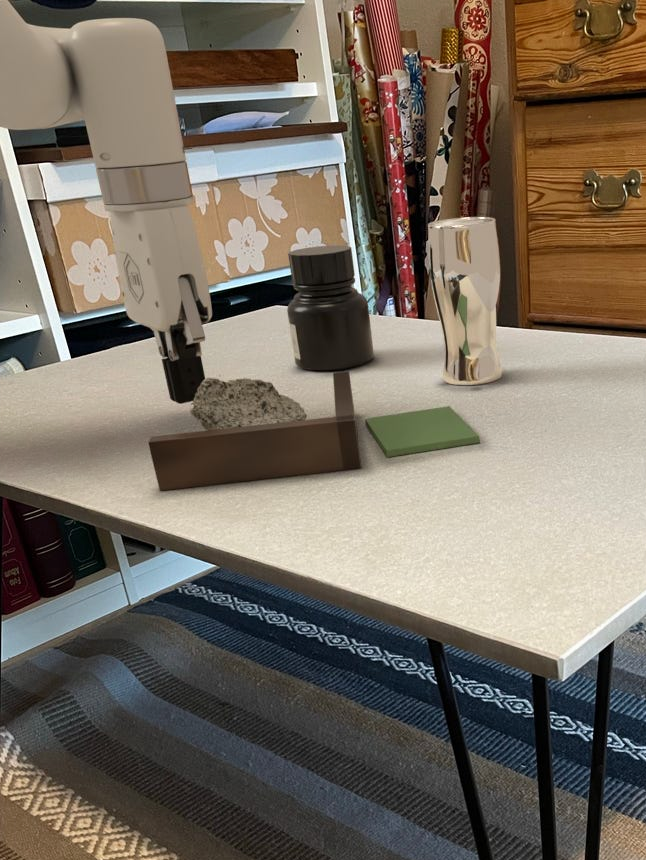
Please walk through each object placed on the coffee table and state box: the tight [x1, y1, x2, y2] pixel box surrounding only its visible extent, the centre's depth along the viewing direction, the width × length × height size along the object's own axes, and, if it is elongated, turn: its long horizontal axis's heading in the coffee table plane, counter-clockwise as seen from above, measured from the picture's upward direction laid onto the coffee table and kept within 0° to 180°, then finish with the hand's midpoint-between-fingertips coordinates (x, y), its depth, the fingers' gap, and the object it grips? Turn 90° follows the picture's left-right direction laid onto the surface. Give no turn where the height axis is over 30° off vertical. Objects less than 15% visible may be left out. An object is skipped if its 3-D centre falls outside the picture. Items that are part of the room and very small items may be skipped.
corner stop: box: [147, 370, 362, 492], centre depth 84 cm, size 16×16×4 cm
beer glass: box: [427, 216, 503, 386], centre depth 98 cm, size 7×7×15 cm
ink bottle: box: [286, 244, 375, 371], centre depth 108 cm, size 10×9×12 cm
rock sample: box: [188, 371, 310, 431], centre depth 86 cm, size 10×8×9 cm
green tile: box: [364, 405, 481, 458], centre depth 86 cm, size 8×10×1 cm
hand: (189, 398), depth 93 cm, fingers closed
